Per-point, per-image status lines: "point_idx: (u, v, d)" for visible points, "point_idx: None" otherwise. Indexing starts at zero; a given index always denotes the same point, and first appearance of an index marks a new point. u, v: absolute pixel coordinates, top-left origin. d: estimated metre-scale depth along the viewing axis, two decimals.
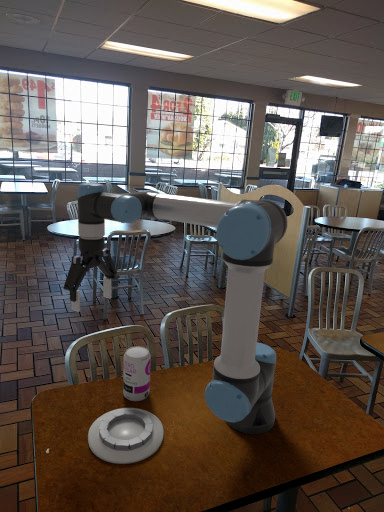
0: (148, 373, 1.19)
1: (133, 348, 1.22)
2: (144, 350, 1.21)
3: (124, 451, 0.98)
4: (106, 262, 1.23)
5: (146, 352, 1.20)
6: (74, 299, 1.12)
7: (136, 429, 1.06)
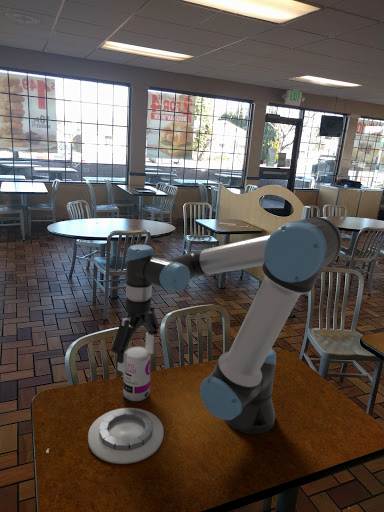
0: (148, 373, 1.19)
1: (133, 348, 1.22)
2: (144, 350, 1.21)
3: (124, 451, 0.98)
4: (149, 318, 1.23)
5: (146, 352, 1.20)
6: (121, 361, 1.12)
7: (136, 429, 1.06)
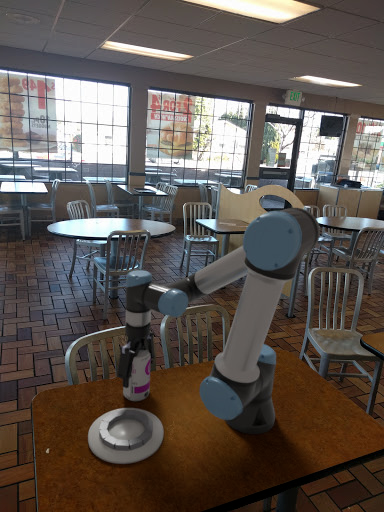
0: (148, 373, 1.19)
1: None
2: (144, 350, 1.21)
3: (124, 451, 0.98)
4: (147, 345, 1.25)
5: (146, 352, 1.20)
6: (127, 386, 1.17)
7: (136, 429, 1.06)
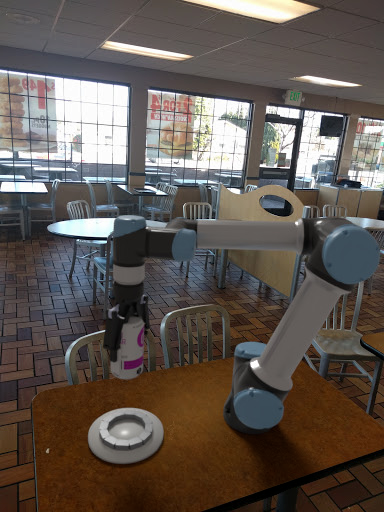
0: (141, 345, 0.97)
1: None
2: (136, 317, 0.98)
3: (124, 451, 0.98)
4: (140, 312, 1.02)
5: (139, 319, 0.97)
6: (115, 360, 0.94)
7: (136, 429, 1.06)
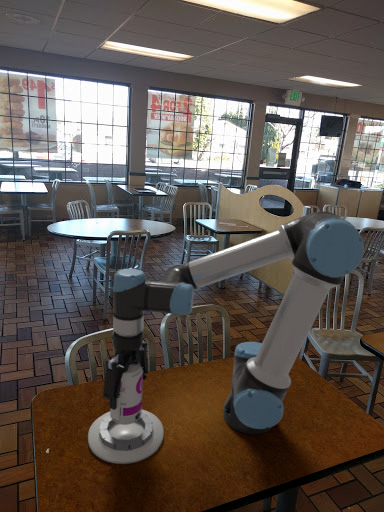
0: (140, 391, 1.00)
1: None
2: (135, 364, 1.01)
3: (124, 451, 0.98)
4: (139, 357, 1.05)
5: (137, 366, 1.00)
6: (114, 407, 0.97)
7: (136, 429, 1.06)
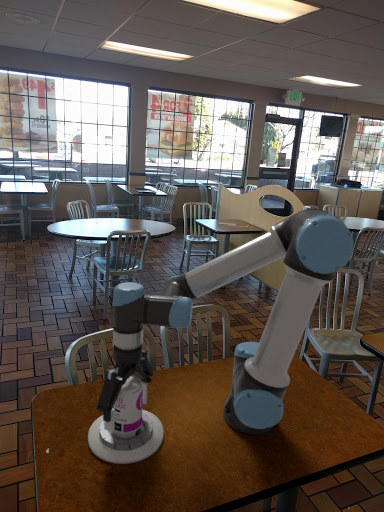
0: (140, 407, 1.01)
1: None
2: (135, 380, 1.03)
3: (124, 451, 0.98)
4: (142, 364, 1.07)
5: (137, 383, 1.02)
6: (108, 419, 0.96)
7: None
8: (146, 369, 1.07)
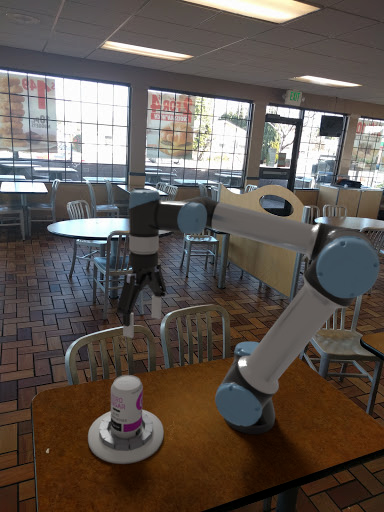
0: (140, 407, 1.01)
1: (122, 377, 1.04)
2: (135, 380, 1.03)
3: (124, 451, 0.98)
4: (155, 278, 1.09)
5: (137, 383, 1.02)
6: (128, 324, 0.98)
7: None
8: (160, 283, 1.10)
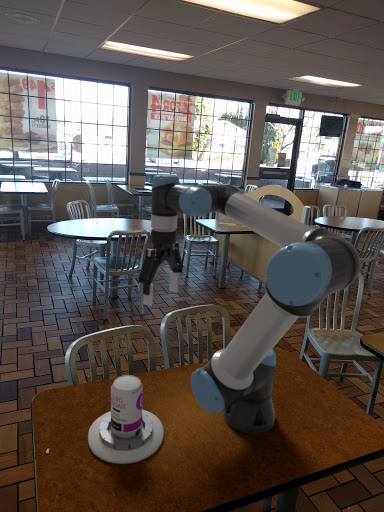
0: (140, 407, 1.01)
1: (122, 377, 1.04)
2: (135, 380, 1.03)
3: (124, 451, 0.98)
4: (173, 256, 1.21)
5: (137, 383, 1.02)
6: (148, 293, 1.10)
7: None
8: (177, 260, 1.22)
